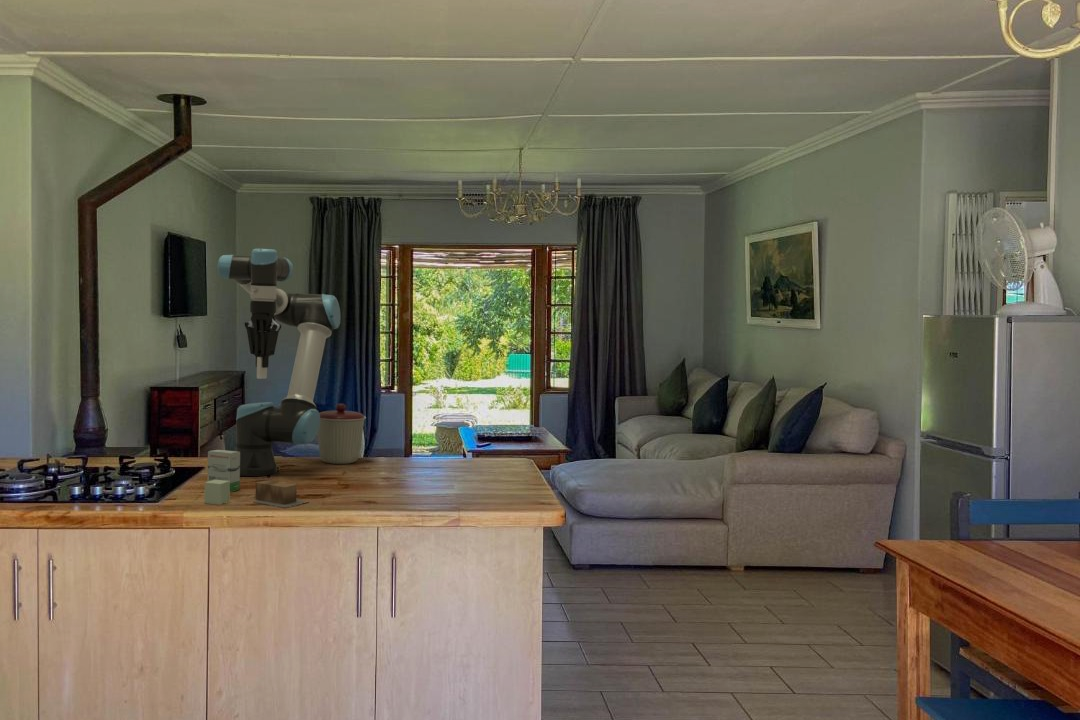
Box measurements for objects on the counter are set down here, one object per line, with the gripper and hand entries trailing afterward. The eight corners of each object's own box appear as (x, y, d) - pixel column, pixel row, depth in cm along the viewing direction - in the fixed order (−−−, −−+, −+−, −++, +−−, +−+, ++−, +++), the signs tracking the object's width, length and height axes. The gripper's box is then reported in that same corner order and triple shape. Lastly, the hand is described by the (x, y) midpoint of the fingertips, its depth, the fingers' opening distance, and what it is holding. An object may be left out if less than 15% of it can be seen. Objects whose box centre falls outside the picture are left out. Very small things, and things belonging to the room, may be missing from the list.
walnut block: (255, 482, 297) (284, 487, 292) (268, 480, 301) (296, 484, 296) (255, 499, 297) (284, 504, 292) (267, 496, 302) (296, 501, 296)
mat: (253, 502, 294) (253, 501, 294) (277, 497, 303) (277, 496, 303) (284, 508, 289) (284, 507, 289) (308, 502, 297) (308, 501, 297)
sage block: (204, 503, 291) (204, 482, 291) (213, 500, 296) (214, 479, 296) (220, 504, 290) (220, 483, 290) (229, 501, 295) (230, 481, 294)
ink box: (240, 489, 312) (241, 451, 311) (230, 492, 307) (231, 453, 307) (216, 486, 315) (217, 448, 314) (206, 489, 310) (207, 450, 309)
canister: (339, 468, 356) (341, 407, 355) (302, 461, 366) (304, 402, 365) (375, 462, 371) (377, 404, 370) (338, 456, 381) (340, 399, 380)
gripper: (238, 299, 309) (236, 377, 311) (270, 301, 303) (268, 380, 304) (256, 299, 316) (254, 376, 317) (288, 301, 309) (286, 379, 311)
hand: (261, 378), depth 311 cm, fingers closed
